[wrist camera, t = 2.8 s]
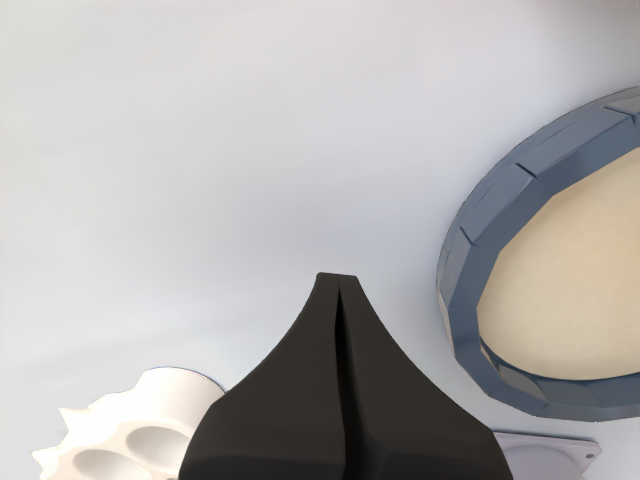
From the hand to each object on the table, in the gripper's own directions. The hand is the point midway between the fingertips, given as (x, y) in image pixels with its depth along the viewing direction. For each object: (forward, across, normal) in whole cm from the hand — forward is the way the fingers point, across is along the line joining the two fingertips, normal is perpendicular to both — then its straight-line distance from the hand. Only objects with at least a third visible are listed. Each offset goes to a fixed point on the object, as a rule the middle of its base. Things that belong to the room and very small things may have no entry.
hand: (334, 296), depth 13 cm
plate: (+5, -13, 0) cm, 14 cm away
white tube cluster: (+5, +10, +19) cm, 22 cm away
